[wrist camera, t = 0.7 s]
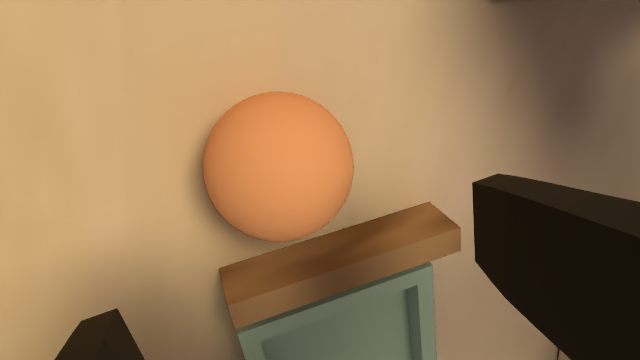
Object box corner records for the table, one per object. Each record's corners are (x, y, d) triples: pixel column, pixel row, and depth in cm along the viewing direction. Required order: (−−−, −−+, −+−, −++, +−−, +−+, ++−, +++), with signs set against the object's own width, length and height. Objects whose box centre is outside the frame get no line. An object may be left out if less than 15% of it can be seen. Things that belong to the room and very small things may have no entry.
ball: (314, 65, 17) (370, 95, 12) (332, 183, 19) (385, 242, 15) (180, 95, 16) (189, 140, 11) (216, 216, 18) (235, 292, 14)
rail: (429, 202, 21) (460, 227, 19) (430, 223, 22) (460, 250, 19) (219, 268, 19) (227, 305, 17) (225, 290, 19) (234, 329, 17)
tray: (412, 245, 22) (432, 265, 20) (421, 372, 26) (438, 397, 24) (230, 306, 20) (237, 334, 18) (271, 434, 24) (279, 466, 22)
